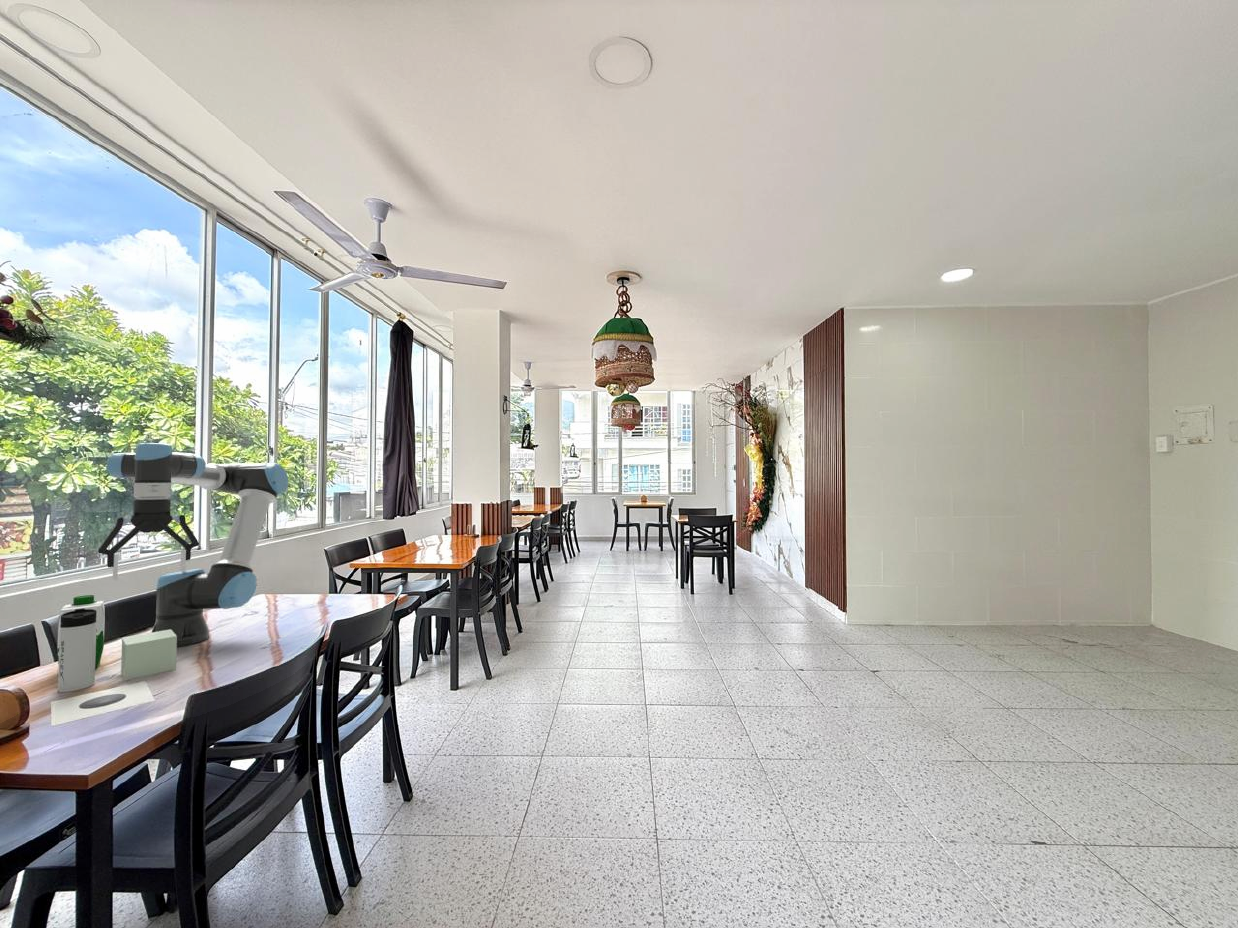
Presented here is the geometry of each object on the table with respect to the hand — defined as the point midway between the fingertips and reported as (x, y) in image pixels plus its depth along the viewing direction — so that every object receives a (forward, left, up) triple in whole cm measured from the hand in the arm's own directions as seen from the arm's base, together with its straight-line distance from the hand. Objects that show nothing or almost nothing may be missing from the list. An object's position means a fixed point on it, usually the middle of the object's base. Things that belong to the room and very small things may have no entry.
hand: (150, 575), depth 136 cm
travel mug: (+9, -10, -27) cm, 30 cm away
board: (+21, +3, -27) cm, 34 cm away
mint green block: (0, 0, -27) cm, 27 cm away
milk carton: (-9, -21, -27) cm, 35 cm away
